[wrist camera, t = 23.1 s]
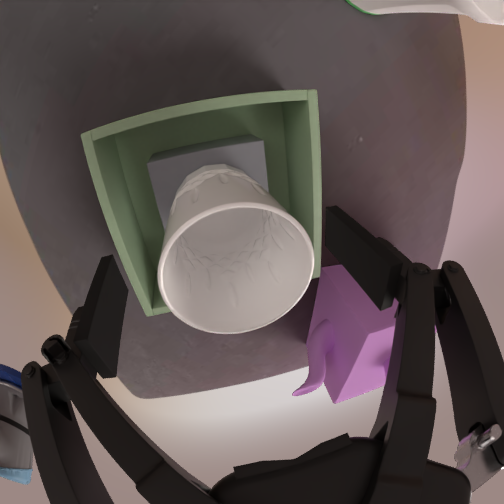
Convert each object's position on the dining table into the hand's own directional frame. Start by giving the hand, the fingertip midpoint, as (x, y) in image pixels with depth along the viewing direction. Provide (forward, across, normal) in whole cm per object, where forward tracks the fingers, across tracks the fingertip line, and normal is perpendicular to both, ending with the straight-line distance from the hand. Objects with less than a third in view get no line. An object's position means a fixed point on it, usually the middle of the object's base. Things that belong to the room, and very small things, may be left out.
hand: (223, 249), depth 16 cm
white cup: (+7, 0, 0) cm, 7 cm away
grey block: (+11, 0, 0) cm, 11 cm away
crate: (+12, 0, 0) cm, 12 cm away
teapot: (+12, +16, -21) cm, 29 cm away
